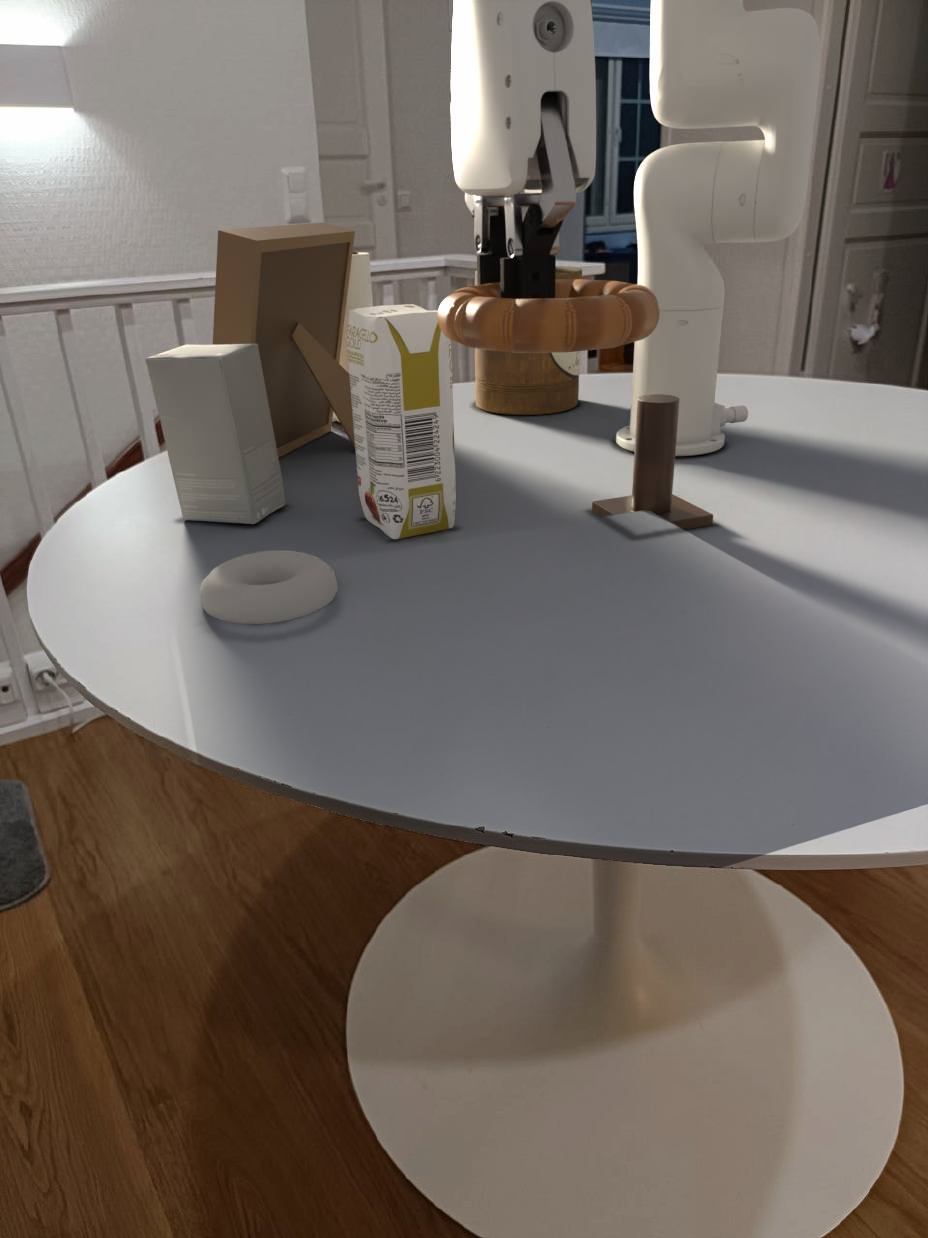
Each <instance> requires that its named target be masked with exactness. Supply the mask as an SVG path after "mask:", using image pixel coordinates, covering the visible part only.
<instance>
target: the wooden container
mask: <svg viewBox="0 0 928 1238" xmlns="http://www.w3.org/2000/svg"><path fill="white" fill-rule="evenodd" d="M561 279H583V269H582V268H581V267H576V266H565V265H556V271H555V280H561ZM476 285H477V270H475V272H474V286H476ZM580 367H581V351H576V352H565V353H513V352H504V351H494V350H485V349H475V348H474V376H475V377H474V378H475V381H474V382H475V387H474V389H475V390H474V391H475V406H476V407H477V408H479V409H481V410H482V411H486V412H488V413H492V414H493V413H494V414H500V415H509V416H539V415H551V414H557V413H561V412H565V411H569V410H571V409H573V408H576V406H578V404H579V394H580V393H579V390H580V372H581V371H580V369H581V368H580Z"/></svg>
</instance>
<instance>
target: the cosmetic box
mask: <svg viewBox="0 0 928 1238" xmlns="http://www.w3.org/2000/svg"><path fill="white" fill-rule="evenodd" d="M145 364H146V368H147V371H148V375H149V380H150V384H151V387H152V392H153V397H154V400H155V405H156V407H157V408H156V409H157V413H158V418H159V421H160V425H161V430H162V434H163V435H162V436H163V439H164V443H165V447H166V452H167V455H168V460H169V464H170V465H169V466H170V468H171V469H170V470H171V473H172V478H173V482H174V486H175V490H176V496H177V499H178V503H179V507H180V511H181V515H182V516H181V517H182V520H184V521H197V522H198V521H199V522H212V523H228V524H229V523H232V524H246V525H255V524H257V523H259V522H260V521H262V520H263V519H265V518H266V517H268V516H269V515H270V514H272V513H273V512H275V511H277V510H278V509H279V510H280V509H281V508H282V507H285V506H286V505H285V504H286V500H287V498H286V493H285V487H284V481H283V476H282V471H281V465H280V460H279V458H278V453H277V448H276V442H275V437H274V432H273V426H272V420H271V415H270V410H269V404H268V399H267V393H266V388H265V382H264V377H263V371H262V366H261V360H260V355H259V349H258V344H230V345H213V344H182V345H181V346H178V347H175V348H172V349H170V350H167V351H164V352H161V353H157V354H154V355H152V356H148V357H146V358H145Z"/></svg>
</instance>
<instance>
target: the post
mask: <svg viewBox="0 0 928 1238" xmlns="http://www.w3.org/2000/svg"><path fill="white" fill-rule="evenodd" d="M679 401H680V399H679V398H678V397H676V396H672V395H663V394H652V395H644V396H640V397H638V401H637V418H636V435H635V452H634V454H633V469H632V470H633V474H632V486H631V487H632V489H631V495H625V496H618V497H613V498H612V497H611V498H606V499H599V500H592V501H591V512H593V513H594V514H595V515H597V516H599V517H600V518H604V517H605V518H606V517H612V516H618V515H624V514H631V513H636V512H637V513H638V512H642V511H643V512H651V513H652V514H654V515H656V516H658V517H660V518H661V519H663V520H664V521H667V522H668V523H671V524H673V525H674V526H676V527H678V528H679V529H681V530H690V529H697V528H701V527H702V528H703V527H708V526H713V522H714V514H713V513H712V512H709V511H707V510H705V509H703V508H701V507H699V506H697V505H695V504H693V503H692V502H689V501H687V500H685V499H684V498H682V497H679V496H677V495H676V494H673V489H674V477H675V465H676V456H675V452H676V440H677V427H678V414H679Z"/></svg>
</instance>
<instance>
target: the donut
mask: <svg viewBox="0 0 928 1238" xmlns="http://www.w3.org/2000/svg"><path fill="white" fill-rule="evenodd" d="M336 577H337V576H336V574H335V571H334V570H333V568H332V567H331V566H330V565H329V564H328V563H327V562H325V560H322V559H321V558H320V557H319V556H316V555H313V554H310V553H306V552H302V551H296V550H286V549H285V550H282V549H281V550H275V549H274V550H273V549H272V550H264V551H256V552H252V553H247V554H242V555H239V556H236V557H233V558H231V559H228V560H226V561H223V562H222V563H220V564H219V565H217V566H215V567H214V568H213V569H212V570H211V571H210V572H209V573H208V574H207V575H206V577H204V578H203V580H202V582H201V585H200V593H199V602H200V605H201V608H202V609H203V610H204V611H205V612H206V614H207V615H208V616H210V617H212V618H214V619H217V620H219V621H222V622H228V623H234V624H240V625H264V624H272V623H281V622H286V621H290V620H294V619H297V618H301V617H305V616H308V615H310V614H312V613H315V612H316V611H319V610H321V609H323V608H325V607H326V606H327V605H328V604H329V603H331V602H332V601H333V600H334V599H335V597H336V595H337V593H338V589H339V585H338V581H337V578H336Z"/></svg>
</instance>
